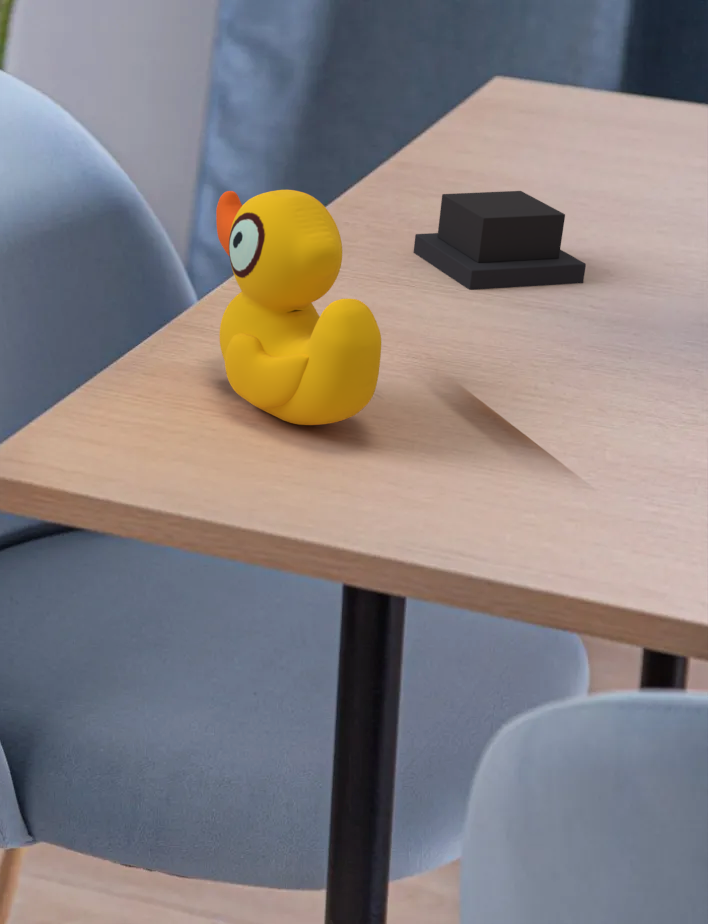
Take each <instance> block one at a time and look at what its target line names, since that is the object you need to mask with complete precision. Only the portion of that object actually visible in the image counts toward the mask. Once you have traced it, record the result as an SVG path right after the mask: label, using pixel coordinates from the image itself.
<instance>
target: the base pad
mask: <svg viewBox="0 0 708 924" xmlns="http://www.w3.org/2000/svg"><path fill="white" fill-rule="evenodd" d="M413 244H414V245H413V254H415V255H416V256H418V257H419V258H421V259H422V260H424V261H425V262H427V263H428V264H429V265H431V266H432V267H434V268H436V269H437V270H438V271H440V272H442V273H443V274H445V275H446V276H448V277H449V278H450V279H452V280H454V281H455V282H456V283H458V284H459V285H461V286H463V287H464V288H466V289H467V290H469V291H476V290H477V291H478V290H493V289H509V288H510V289H511V288H525V287H526V288H527V287H542V286H556V285H557V286H559V285H574V284H577V285H578V284H584V279H585V274H586V266H587V264H586V263H585V262H583V261H581V260H579V259H578V258H576V257H574V256H573V255H571V254H569V253H567V252H566V251H564V250H562V249H560V254H559V258H556V259H538V260H521V261H503V262H485V263H478V262H476V261H475V260H473V259H471V258H470V257H468V256H467V255H465V254H463V253H462V252H460V251H459V250H457V249H456V248H454V247H452V246H451V245H449V244H448V243H446V242H444V241H443V240H441V239H440V238H438V232H429V233H415V235H414V243H413Z"/></svg>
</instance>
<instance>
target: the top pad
mask: <svg viewBox="0 0 708 924" xmlns="http://www.w3.org/2000/svg"><path fill="white" fill-rule="evenodd" d="M565 219H566V213H564V212H561V211H560V210H558V209H556V208H554V207H552V206H550V205H548V204H547V203H545V202H543V201H541V200H539V199H537V198H536V197H534V196H531V195H530V194H528V193H526V192H524V191H522V190H509V191H508V190H507V191H506V190H505V191H485V192H484V191H482V192H480V191H479V192H460V193H457V192H456V193H442V194H441V203H440V211H439V219H438V221H439V222H438V227H437V228H438V230H437V233H438V238H440V239H441V240H443V241H444V242H446V243H448V244H449V245H451V246H452V247H454V248H456V249H457V250H459V251H460V252H462V253H463V254H465V255H467V256H468V257H470V258H471V259H473V260H475V261H476V262H478V263H485V262H503V261H521V260H538V259H556V258H559V254H560V250H561V246H562V239H563V233H564V225H565Z"/></svg>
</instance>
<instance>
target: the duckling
mask: <svg viewBox="0 0 708 924" xmlns="http://www.w3.org/2000/svg"><path fill="white" fill-rule="evenodd" d="M215 210H216V212H215V213H216V214H215V218H216V220H215V221H216V222H215V223H216V233H217V238H218V242H219V243H220V245H221V247H222V248H223V250H224V252H225V253H226V255H227V256H228V257H229V263H230V266H231V270H232V274H233V276H234V279H235V281H236V283H237V285H238V287H239V289H240V292H239V293H238V294H237V295H235V296H234V297H233V298H232V299H231V300H230V301H229V303H228V305H227V306H226V308H225V310H224V312H223V314H222V317H221V321H220V326H219V346H220V351H221V354H222V355H221V356H222V358H223V360H224V367H225V368H224V369H225V374H226V377H227V380H228V382H229V384H230V386H231V388H232V390H233V391H234V392H235V393H236V394H237V395H238V396H239V397H241V398H242V399H243V400H245V401H246V402H248V403H249V404H251V405H252V406H254V407H255V408H258V409H259V410H262V411H264V412H266V413H267V414H270V415H272V416H274V417H275V418H278V419H280V420H282V421H284V422H287V423H290V424H293V425H299V426H318V425H319V426H320V425H327V424H328V425H329V424H334V423H338V422H341V421H344V420H347V419H350V418H353V417H354V416H356V415H357V414H359V412H361V411H362V410H363V409H364V408H365V407H366V406H367V405H368V404H369V403H370V402H371V400H372V398H373V396H374V394H375V392H376V388H377V384H378V379H379V374H380V372H379V371H380V366H381V357H382V335H381V330H380V328H379V325H378V322H377V320H376V317H375V315H374V313H373V311H372V310H371V309H370V308H369V306H368V305H367V304H366V303H364V302H363V301H361V300H359V299H357V298H340V299H336V300H334V301H332V302H330V303H329V304H328V305H327V306H326V307H325V308H324V309H323V311H322V312H321V314H319V313H318V311H317V309H316V307H315V305H314V303H315V302H316V301H318V300H320V299H322V297H324V296H325V295H326V294H327V293H328V292H329V291H330V290H331V289H332V287H333V286H334V284H335V283H336V280H337V278H338V276H339V274H340V271H341V267H342V263H343V242H342V238H341V234H340V230H339V228H338V225H337V223H336V222H335V219H334V218H333V216H332V214H331V213H330V211H329V210H328V208H326V206H325V205H324V204H323V203H322V202H321V201H320V200H319V199H317V198H315V197H314V196H313V195H310V194H309V193H306V192H303V191H299V190H294V189H277V190H270V191H267V192H263V193H259V194H257V195H255V196H253V197H251V198H249V199H247V201H246V202H244V203H243V204H242V202H241V200H240V197H239V195H238V193H237V192H235V191H233V190H226V191H225V192H223V193H222V194H221V195H220V197H219V199H218V202H217V205H216V209H215Z"/></svg>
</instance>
